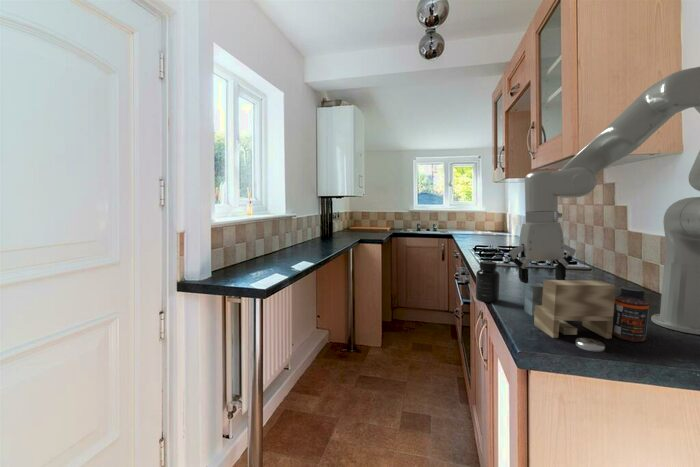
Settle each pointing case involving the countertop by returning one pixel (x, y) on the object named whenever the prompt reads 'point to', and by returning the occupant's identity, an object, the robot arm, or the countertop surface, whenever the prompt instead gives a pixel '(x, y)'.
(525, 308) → the grey rectangular block
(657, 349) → the countertop surface
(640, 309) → the supplement bottle
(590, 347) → the steel token
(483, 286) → the supplement bottle
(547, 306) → the oak step stool
